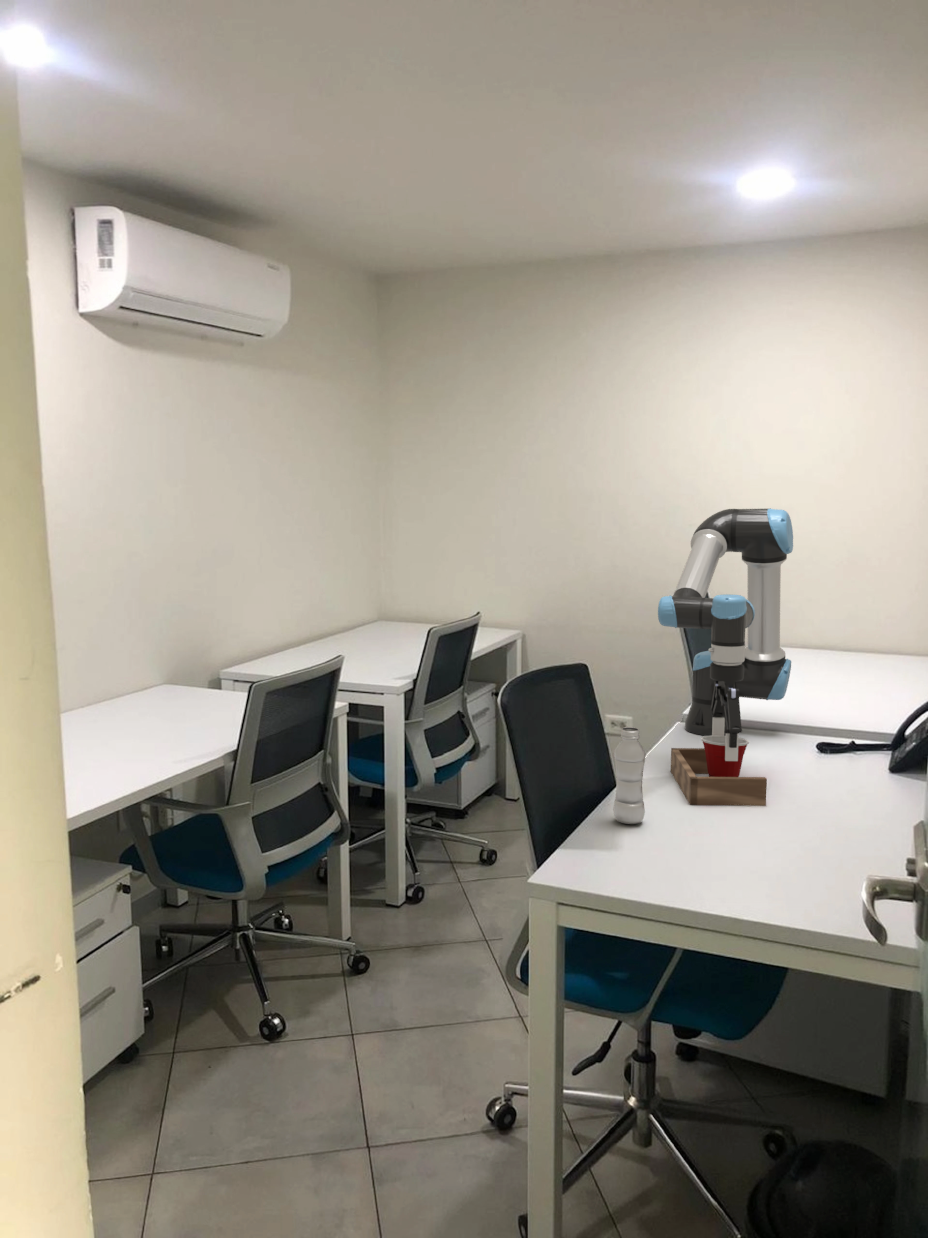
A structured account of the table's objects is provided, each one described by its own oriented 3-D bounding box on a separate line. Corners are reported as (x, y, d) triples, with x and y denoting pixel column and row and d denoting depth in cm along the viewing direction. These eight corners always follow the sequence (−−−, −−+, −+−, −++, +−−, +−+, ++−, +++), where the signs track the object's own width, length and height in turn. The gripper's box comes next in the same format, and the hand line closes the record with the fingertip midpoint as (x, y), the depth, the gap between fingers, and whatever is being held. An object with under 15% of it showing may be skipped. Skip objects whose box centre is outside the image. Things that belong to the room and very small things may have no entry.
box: (670, 771, 235) (671, 748, 234) (738, 772, 234) (738, 748, 233) (690, 805, 210) (690, 778, 209) (765, 805, 209) (766, 779, 208)
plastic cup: (750, 784, 224) (752, 734, 223) (743, 797, 215) (745, 746, 213) (704, 778, 229) (705, 730, 227) (695, 791, 219) (696, 741, 218)
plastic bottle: (626, 830, 195) (627, 734, 192) (606, 820, 201) (608, 727, 198) (651, 824, 198) (653, 731, 195) (631, 815, 204) (632, 724, 201)
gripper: (699, 652, 230) (697, 738, 233) (723, 673, 206) (720, 768, 209) (730, 652, 230) (728, 738, 233) (758, 673, 205) (754, 768, 208)
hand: (724, 752), depth 221 cm, fingers open, 13 cm apart
